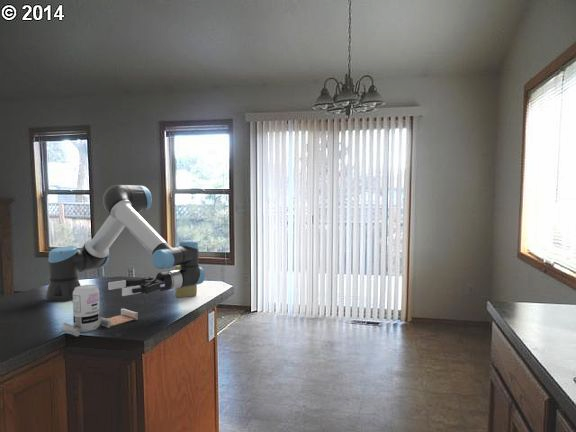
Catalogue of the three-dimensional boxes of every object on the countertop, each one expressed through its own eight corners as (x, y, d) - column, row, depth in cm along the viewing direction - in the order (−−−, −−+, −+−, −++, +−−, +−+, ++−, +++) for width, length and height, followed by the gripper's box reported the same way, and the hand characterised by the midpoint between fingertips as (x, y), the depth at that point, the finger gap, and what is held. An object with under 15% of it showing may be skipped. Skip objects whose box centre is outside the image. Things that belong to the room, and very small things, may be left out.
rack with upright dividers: (62, 330, 137) (62, 323, 137) (123, 314, 156) (123, 308, 156) (76, 336, 131) (76, 329, 131) (137, 319, 150) (137, 312, 150)
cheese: (173, 287, 203) (173, 258, 202) (192, 286, 206) (192, 257, 205) (175, 298, 182) (175, 265, 181) (196, 296, 185) (196, 264, 184)
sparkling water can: (79, 325, 143) (78, 284, 142) (103, 324, 144) (102, 284, 143) (69, 333, 135) (68, 290, 134) (94, 332, 136) (93, 289, 135)
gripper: (184, 294, 151) (128, 305, 136) (155, 284, 169) (103, 293, 154) (183, 275, 151) (128, 284, 136) (154, 267, 169) (103, 274, 154)
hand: (115, 289), depth 145 cm, fingers open, 13 cm apart
